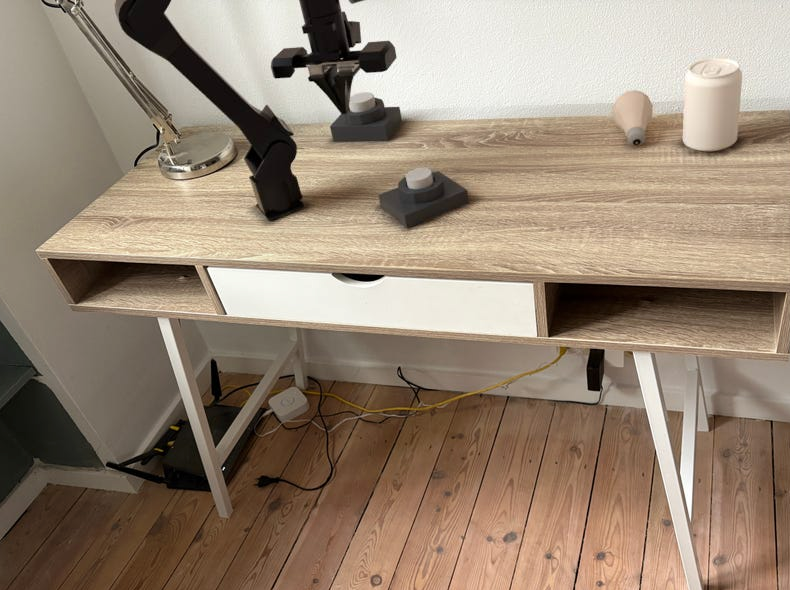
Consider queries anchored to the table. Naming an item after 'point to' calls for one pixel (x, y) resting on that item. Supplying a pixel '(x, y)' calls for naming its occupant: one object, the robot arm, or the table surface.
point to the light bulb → (633, 115)
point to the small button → (419, 178)
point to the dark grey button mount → (367, 124)
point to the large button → (362, 102)
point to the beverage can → (712, 104)
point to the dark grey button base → (423, 200)
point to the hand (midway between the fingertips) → (345, 113)
